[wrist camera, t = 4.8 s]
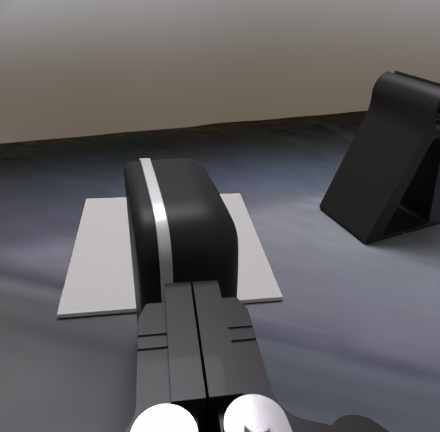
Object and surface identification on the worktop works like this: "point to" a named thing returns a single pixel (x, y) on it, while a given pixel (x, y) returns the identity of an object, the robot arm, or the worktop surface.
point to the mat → (122, 261)
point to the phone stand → (391, 163)
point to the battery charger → (177, 229)
